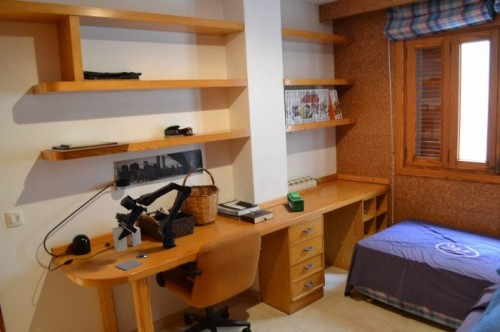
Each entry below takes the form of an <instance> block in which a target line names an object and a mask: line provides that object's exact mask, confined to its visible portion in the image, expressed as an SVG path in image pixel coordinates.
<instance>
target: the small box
mask: <svg viewBox="0 0 500 332" xmlns="http://www.w3.org/2000/svg"><path fill="white" fill-rule="evenodd" d="M134 227H135V228H137V232H136V233H133V232H132V234H130V235H128V236H126V240H127V245H130V246H132V247H136V246H139V245H142V239H141V237H142V236H141V228H140V227H138V226H135V225H134Z"/></svg>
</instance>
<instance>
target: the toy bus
mask: <svg viewBox="0 0 500 332" xmlns="http://www.w3.org/2000/svg"><path fill="white" fill-rule="evenodd" d="M286 198H287V199H286V200H287V205H288V206H289V207H290V208H291V210H292V211H293V212H302V211H305V199H303V197H301V195H300V194H298V192H297V191H293V192H287V193H286Z"/></svg>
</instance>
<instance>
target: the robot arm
mask: <svg viewBox="0 0 500 332" xmlns="http://www.w3.org/2000/svg"><path fill="white" fill-rule="evenodd" d="M172 191H177V193H176V199H175V201H174V202H173V204H172V206H171V208H170V210H169V212H168V214H167V216H166V217H165V219H164V220H160V222H159V225H158V226H157V231H158V233H159V234H160V235H161V237H162V246H161V247H162V248H164V249H165V250H166V249H167V250H170V249H172V248H174V247H177V246H178V245H177V244H176V240H175V238H176V233H175V232H173V228H174V226H173V225H174V222H175V219H176V217H177V216H178V214H179V211H180V210H181V208H182V206H183V204H184V202H185V201H186V200H187V199H188V198H189V197H190V195H192V192H193V190H192V187H191V186H189V185H185V184H182V185H181V184H178V183H177V182H173V181H171V182H169V183H168V184H166V185H164V186H162V187H159V189H157V190H154V191H152V192H149V193H144V194H141V195H139V197H137V198H133V197H132V196H131V195H130V194H129V195H128V194H127V195H126V196H125V197H123V198H122V199H121V200H120V203H119V205H120V206H121V207H123V208H124V209H126V210H127V211H130V212H127V213H124V212H123V213H120V212H116V215H115V217H114V219H116V222H117V225H118V227H121V226H122V227H123V231H122V233H121V234H120V236H119V238H118V240H121V239H123V238H124V237H126V236H128V235H130V234H132V232H133V233H136V232H137V228H135V227H136V226H135V224H136V223H137V222H139V221H140V219H139V218H140V217H141V216H142V214H143V213H144V212H145V213H146V214H147V213H148V208H147V207H150V206H151V205H152V204H153V203H155V201H156V200H157V199H159V198H161V197H164V196H165V195H167V194H168V193H170V192H172ZM134 226H135V227H134Z"/></svg>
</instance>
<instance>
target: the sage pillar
mask: <svg viewBox="0 0 500 332" xmlns="http://www.w3.org/2000/svg"><path fill="white" fill-rule="evenodd" d="M111 230H112V238H113V243H114V244H113V245H114V250H115V251H116V252H117V253H119V252H122V251H127V250H128V249H129V247H128V244H127V239H126V237H124V238H123V239H121V240H118V238H119V236H120V234H121V233H122V231H123V227H122V226H121V227H114V228H112V229H111Z"/></svg>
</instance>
